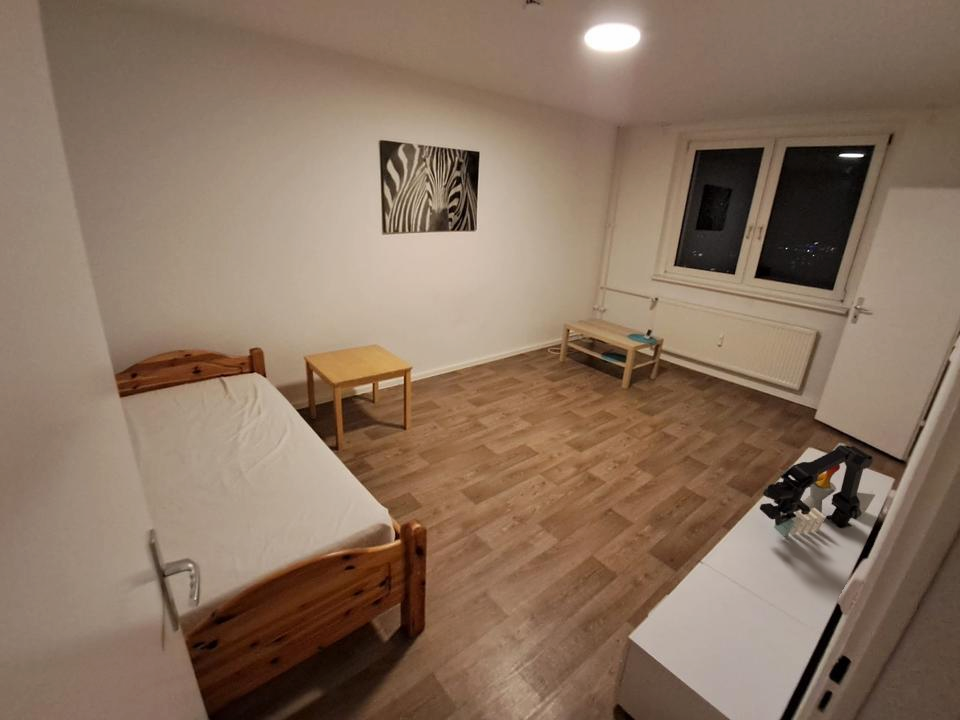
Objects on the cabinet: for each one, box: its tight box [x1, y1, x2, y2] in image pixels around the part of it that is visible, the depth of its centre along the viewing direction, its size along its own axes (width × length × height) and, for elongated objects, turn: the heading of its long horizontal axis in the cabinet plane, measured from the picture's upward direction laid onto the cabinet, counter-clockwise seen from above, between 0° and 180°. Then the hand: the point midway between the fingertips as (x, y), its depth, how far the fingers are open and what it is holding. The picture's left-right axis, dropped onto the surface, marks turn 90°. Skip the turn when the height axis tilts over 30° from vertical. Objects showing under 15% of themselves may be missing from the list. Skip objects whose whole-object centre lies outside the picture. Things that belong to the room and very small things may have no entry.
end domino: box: [810, 508, 827, 533], centre depth 179 cm, size 2×5×8 cm, turn 14°
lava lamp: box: [800, 442, 847, 514], centre depth 182 cm, size 9×9×35 cm
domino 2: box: [788, 512, 803, 536], centre depth 176 cm, size 2×5×8 cm, turn 14°
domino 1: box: [773, 519, 795, 538], centre depth 175 cm, size 2×5×8 cm, turn 14°
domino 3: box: [794, 510, 810, 535], centre depth 177 cm, size 2×5×8 cm, turn 14°
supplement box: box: [857, 482, 876, 518], centre depth 190 cm, size 7×7×13 cm
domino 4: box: [804, 512, 818, 534], centre depth 178 cm, size 2×5×8 cm, turn 14°
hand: (776, 524), depth 174 cm, fingers closed
